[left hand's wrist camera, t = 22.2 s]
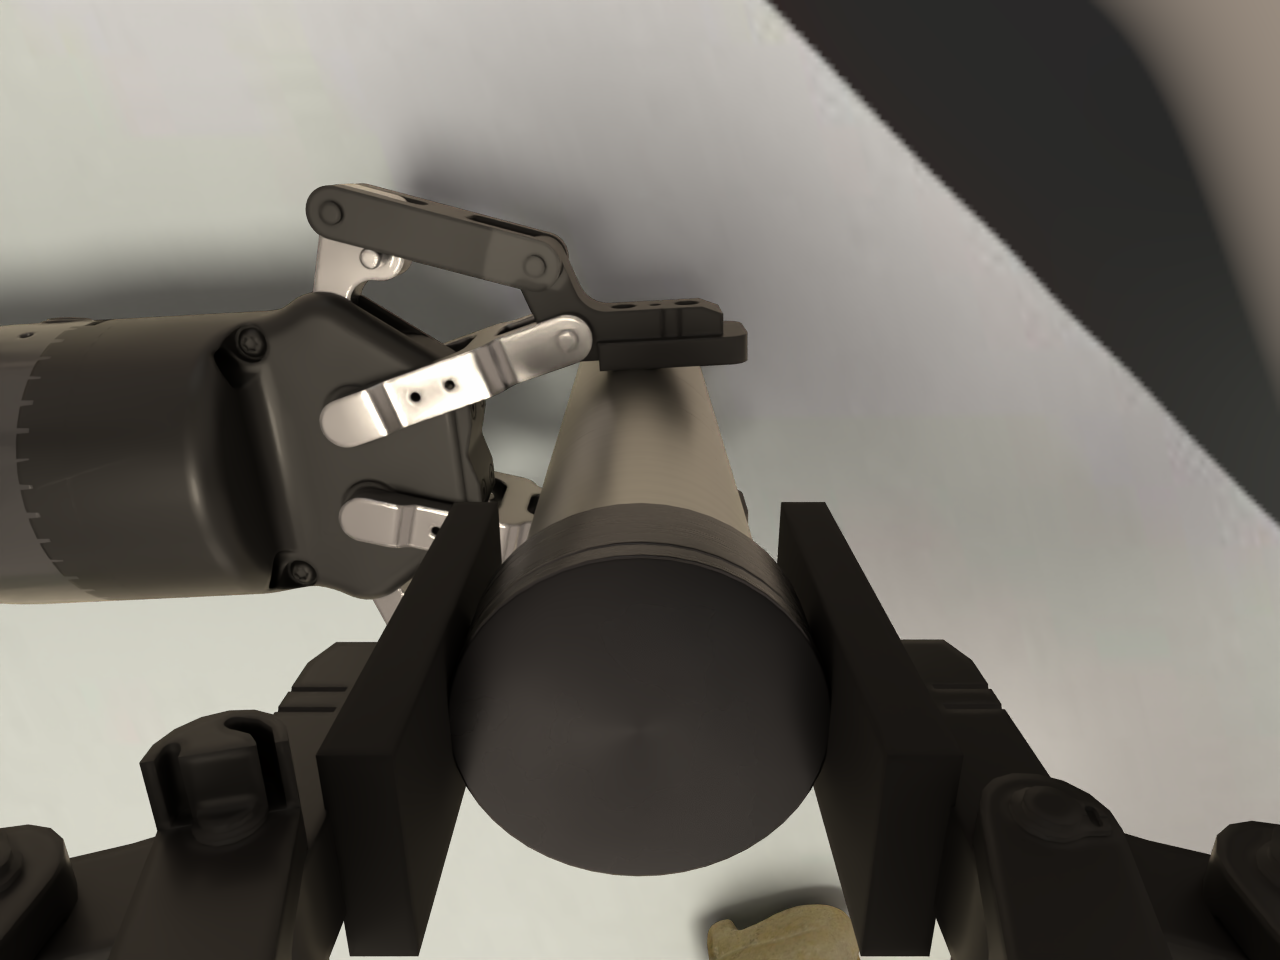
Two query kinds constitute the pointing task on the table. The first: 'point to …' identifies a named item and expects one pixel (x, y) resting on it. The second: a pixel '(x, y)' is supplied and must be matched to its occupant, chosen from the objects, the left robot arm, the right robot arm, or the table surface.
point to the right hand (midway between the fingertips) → (741, 429)
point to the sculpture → (787, 937)
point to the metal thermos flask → (639, 447)
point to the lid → (639, 693)
